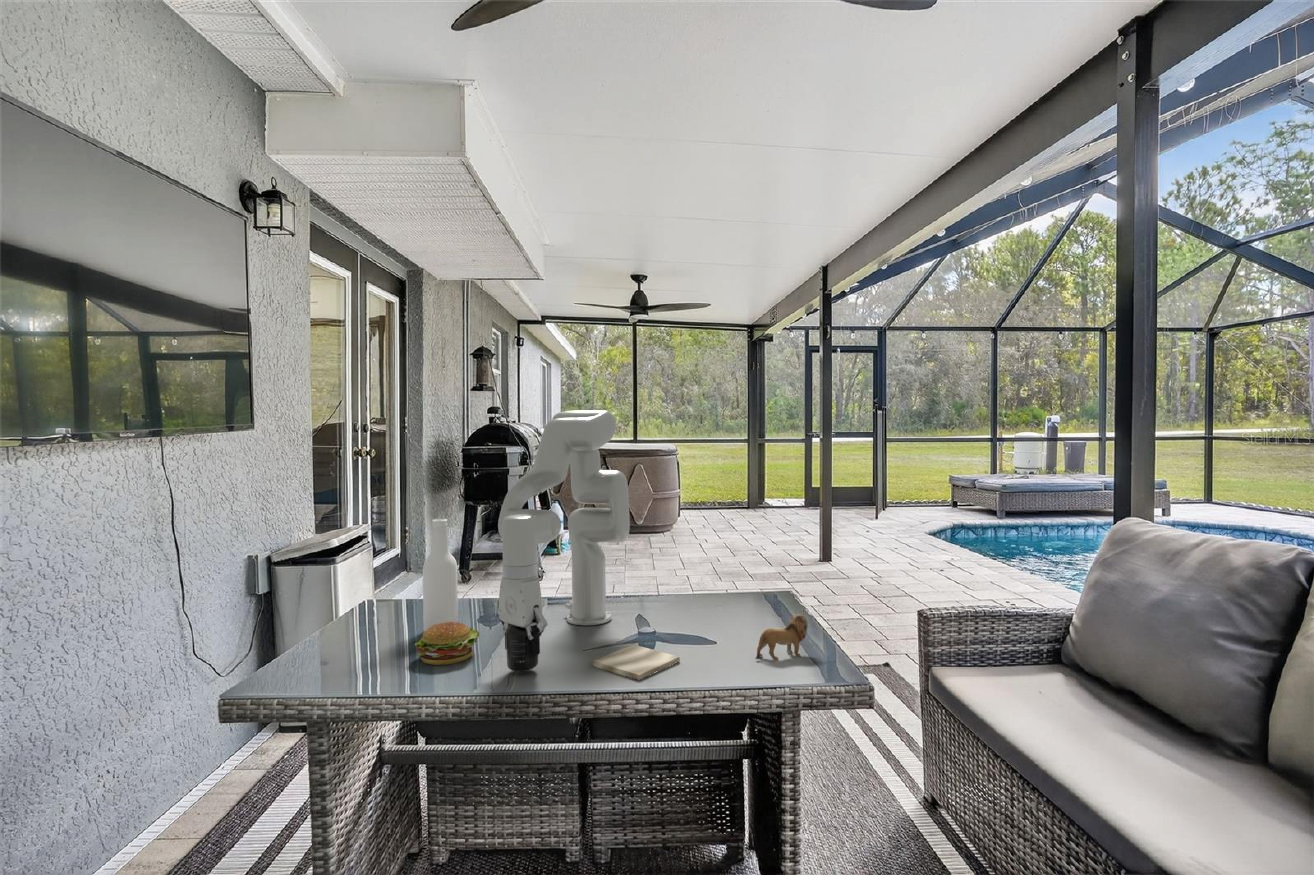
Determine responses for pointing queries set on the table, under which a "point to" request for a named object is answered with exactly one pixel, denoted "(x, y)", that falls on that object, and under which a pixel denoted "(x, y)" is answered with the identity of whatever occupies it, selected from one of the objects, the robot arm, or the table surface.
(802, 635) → the lion figurine
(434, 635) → the food
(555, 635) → the table surface
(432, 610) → the alcohol
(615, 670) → the birch board
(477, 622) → the table surface
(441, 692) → the table surface
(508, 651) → the supplement bottle
